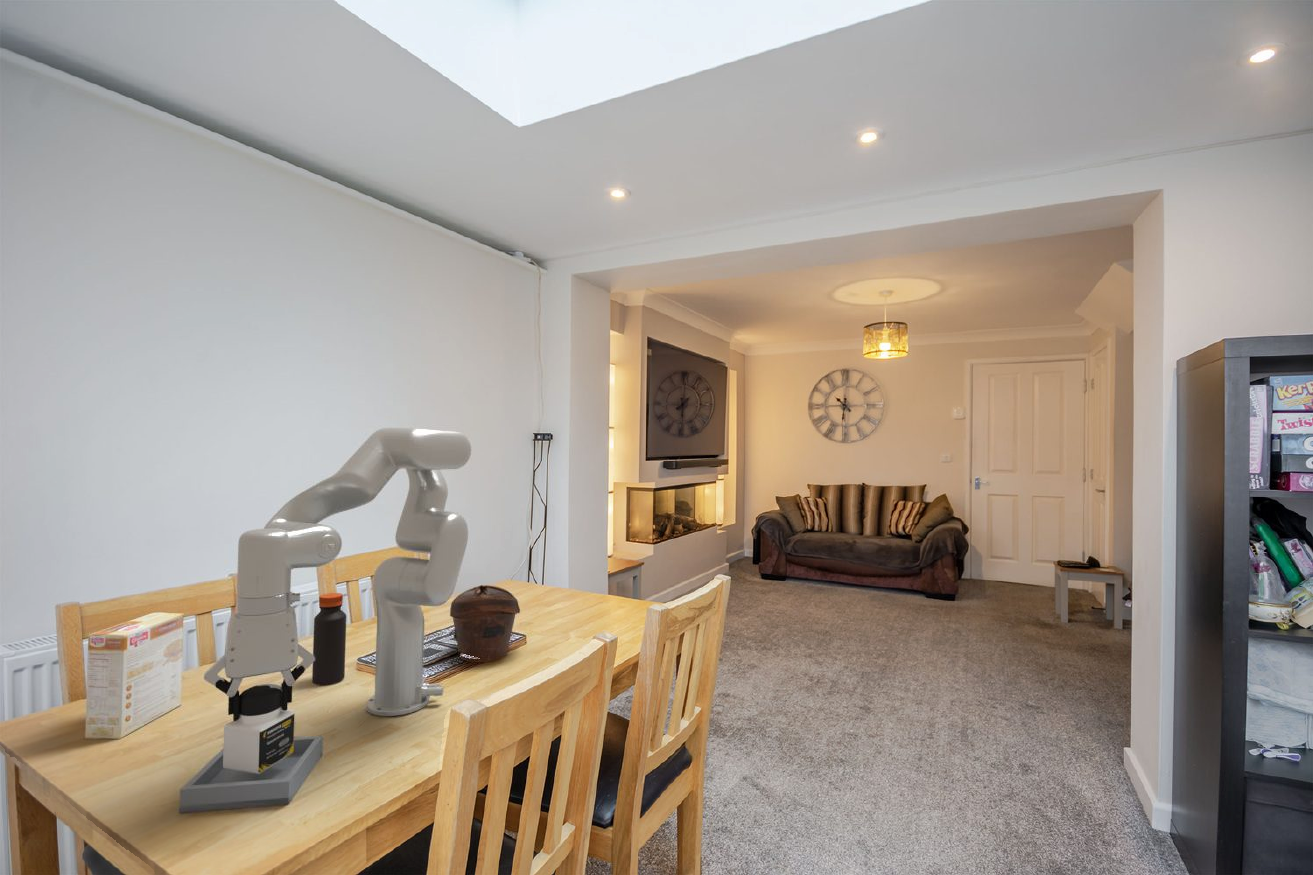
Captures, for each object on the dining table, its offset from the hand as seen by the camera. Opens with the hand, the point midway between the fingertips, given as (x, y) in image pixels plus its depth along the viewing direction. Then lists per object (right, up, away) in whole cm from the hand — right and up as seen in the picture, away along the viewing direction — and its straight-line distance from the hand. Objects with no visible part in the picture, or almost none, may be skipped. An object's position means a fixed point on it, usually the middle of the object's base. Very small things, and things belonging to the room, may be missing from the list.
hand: (260, 711), depth 100 cm
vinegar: (-12, -12, +42) cm, 45 cm away
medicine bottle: (0, -8, 0) cm, 8 cm away
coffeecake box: (-38, -11, +20) cm, 44 cm away
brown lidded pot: (+19, -13, +63) cm, 67 cm away
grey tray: (0, -11, 0) cm, 11 cm away
